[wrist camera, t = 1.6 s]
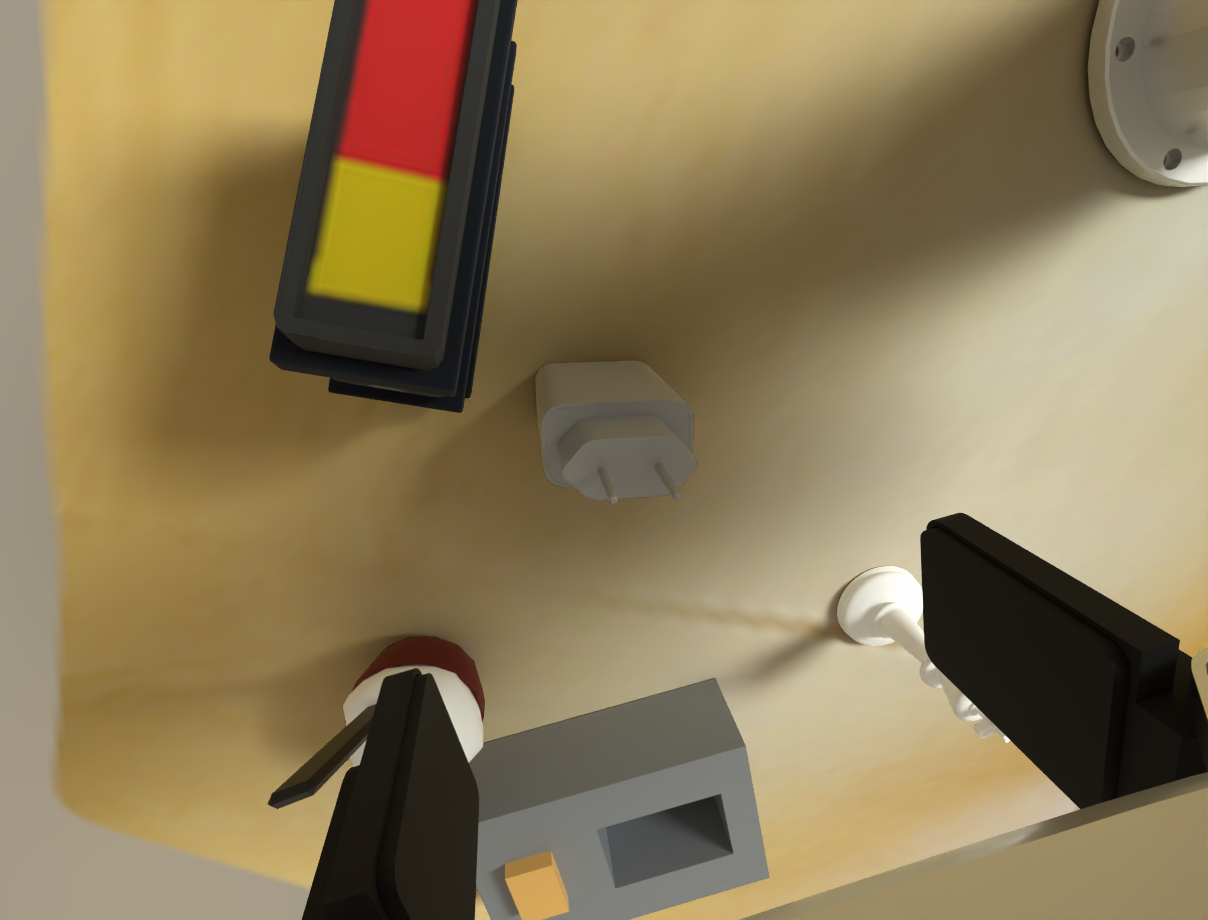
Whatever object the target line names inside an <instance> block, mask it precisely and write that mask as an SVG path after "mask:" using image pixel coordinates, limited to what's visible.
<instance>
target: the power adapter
mask: <svg viewBox="0 0 1208 920" xmlns="http://www.w3.org/2000/svg"><path fill="white" fill-rule="evenodd" d="M535 389H536V408H537V420H538V428H539V436H540V444H541V452H542V461H543V469H544V474H545V476H546V478H547V479H548V480H549V482H550V483H552V484H553V485H555V486H558V487H563V488H571V487H575V488H576V489H577V490H578V491H579V492H580V493H581V494H582V495H583V496H584V497H586V498H588V499H592V500H609V502H610V503H611V504H616V503H617V502H618V499H625V498H640V497H655V496H664V495H669V494H671V495H672V497H673V498H674V499H675V500H678V499H680V498H681V497H682V494H681V492H680V491H679V488H680V487H681V486H682V484H683V483H684V482H685V481H686V480H687V479H688V478H689V477H690V476H691V474H692V473H693V472H694V471H695V470H696V468H697V464H698V462H697V460H696V458H695V457H694V456H693V455H692V452H693V428H694V415H693V412H692V410H691V408H690V407H689V405H688V404H687V403H686V402H685V401H684V400H683V399H682V398H681V397H680V396H679V395H678V394H677V393H676V392H675V391H674V390H673V389H672V388H671V387H670V386H669V385H668V384H667V383H666V382H665V381H664V380H663V379H662V378H661V377H659V376H658V375H657V374H656V373H655V372H654V371H653V370H652V369H651V368H650V367H649V366H648V365H647V364H646V363H645V362H642V361H639V360H625V361H599V362H573V363H551V364H547V365H544V366H542V367H541V368H540V369H539V370H538V372H537V374H536V377H535Z"/></svg>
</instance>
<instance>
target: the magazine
mask: <svg viewBox="0 0 1208 920" xmlns="http://www.w3.org/2000/svg"><path fill="white" fill-rule="evenodd" d="M516 6H517V0H335V2H334V7H333V12H332V17H331V22H330V27H329V32H328V38H327V43H326V48H325V53H324V58H323V63H322V68H321V73H320V79H319V84H318V89H317V94H316V99H315V104H314V109H313V114H312V120H311V125H310V130H309V135H308V140H307V145H306V150H305V155H304V161H303V166H302V171H301V176H300V181H299V186H298V191H297V196H296V201H295V207H294V212H293V217H292V222H291V227H290V232H289V237H288V242H287V248H286V253H285V258H284V263H283V268H282V273H281V278H280V283H279V289H278V294H277V299H276V304H275V309H274V317H275V321H276V326H275V331H274V337H273V342H272V347H271V352H270V357H269V358H270V361H271V362H273V363H274V364H275V365H276V366H278V367H279V368H280V369H282V370H288V371H294V372H300V373H306V374H313V375H319V376H325V377H330V381H329V388H328V390H329V392H331V393H337V394H343V395H349V396H356V397H362V398H369V399H375V400H381V401H388V402H394V403H400V404H407V405H413V406H420V407H426V408H432V409H439V410H445V411H451V412H458V413H461V412H462V411H463V407H464V400H465V398H470V395H471V392H472V385H473V378H474V371H475V364H476V357H477V350H478V343H479V336H480V329H481V322H482V315H483V307H484V300H485V293H486V286H487V279H488V272H489V265H490V258H491V251H492V244H493V237H494V230H495V223H496V216H497V209H498V201H499V194H500V187H501V180H502V173H503V166H504V159H505V152H506V145H507V138H508V131H509V124H510V117H511V110H512V103H513V96H514V86H513V85H512V84H511V83H512V77H513V70H514V63H515V56H516V46H517V45H516V43H515V42H514V41H511V38H512V32H513V25H514V19H515V13H516Z"/></svg>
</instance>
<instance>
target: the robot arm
mask: <svg viewBox="0 0 1208 920" xmlns="http://www.w3.org/2000/svg"><path fill="white" fill-rule="evenodd" d="M1088 80H1089V98H1090V102H1091V106H1092V110H1093V114H1094V119H1095V123H1096V126H1097V128H1098V130H1099V132H1100V134H1101V136H1102V138H1103V141H1104V143H1105V145H1106V147H1107V148H1108V149H1109V151H1110V152H1111V153H1112V154H1113V156H1114V157H1115V158H1116V159H1117V161H1118V162H1119V163H1120V164H1121V165H1122V166H1123V167H1125V168H1126V169H1127V170H1129V171H1130V172H1131V173H1133V174H1134V175H1136V176H1137V177H1138V178H1141V179H1143V180H1146V181H1149V182H1152V183H1154V184H1157V185H1163V186H1173V187H1188V186H1201V185H1208V0H1099V4H1098V8H1097V12H1096V17H1095V21H1094V25H1093V29H1092V33H1091V40H1090V50H1089V60H1088ZM920 542H921V568H922V595H923V621H924V645H925V650H926V653H927V655H928V657H929V659H930V661H931V662H932V663H933V665H934V666H935V667H936V668H937V669H938V670H939V671H940V672H941V673H942V674H943V675H944V676H945V677H946V678H947V679H948V680H950V681H951V682H952V683H953V684H954V685H955V686H956V687H957V688H958V689H959V690H960V691H961V692H962V693H963V694H964V695H965V696H966V697H967V698H968V699H969V700H970V701H971V702H972V703H973V704H974V705H975V706H976V707H977V708H978V709H979V710H980V711H981V712H982V713H983V714H984V715H985V716H986V717H987V718H988V719H989V720H990V721H991V722H992V723H993V724H994V725H995V726H996V727H997V728H998V729H999V730H1000V731H1001V732H1002V733H1003V734H1004V735H1005V736H1007V737H1008V738H1009V739H1010V740H1011V741H1012V742H1013V743H1014V744H1015V745H1016V746H1017V747H1018V748H1019V749H1020V750H1021V751H1022V752H1023V753H1024V754H1025V755H1026V756H1027V757H1028V758H1029V759H1030V760H1031V761H1032V762H1033V763H1034V764H1035V765H1036V766H1037V767H1038V768H1039V769H1040V770H1041V771H1042V772H1043V773H1044V774H1045V775H1046V776H1047V777H1048V778H1049V779H1050V780H1051V781H1052V782H1053V783H1054V784H1055V785H1056V786H1057V787H1058V788H1059V789H1060V790H1061V791H1062V792H1063V793H1065V794H1066V795H1067V796H1068V797H1069V798H1070V799H1071V800H1072V801H1073V802H1074V803H1075V804H1076V805H1077V806H1078V807H1079V808H1080V810H1077V811H1074V812H1071V813H1068V814H1065V815H1062V816H1058V817H1055V818H1052V819H1049V820H1046V821H1043V822H1040V823H1036V824H1033V825H1030V826H1027V827H1024V828H1021V829H1018V830H1015V831H1011V832H1008V833H1005V834H1002V835H999V836H996V837H993V838H989V839H986V840H983V841H980V842H977V843H974V844H971V845H967V846H964V847H961V848H958V849H955V850H952V851H949V852H946V853H942V854H939V855H936V856H933V857H930V858H927V859H924V860H921V861H918V862H915V863H912V864H909V865H906V866H902V867H899V868H896V869H893V870H890V871H887V872H884V873H881V874H878V875H875V876H872V877H869V878H865V879H862V880H859V881H856V882H853V883H850V884H847V885H844V886H841V887H838V888H835V889H832V890H829V891H826V892H823V893H820V894H816V895H813V896H810V897H807V898H804V899H801V900H798V901H795V902H792V903H789V904H786V905H783V906H780V907H777V908H774V909H771V910H767V911H764V912H761V913H758V914H755V915H752V916H749V917H746V918H743V919H740V920H1208V648H1206V649H1204V650H1201V651H1199V652H1197V654H1196V655H1195V656H1194V657H1193V658H1192V657H1190V656H1189V655H1187V654H1185V653H1184V652H1182V651H1180V650H1179V643H1180V640H1179V639H1177V638H1175V637H1174V636H1172V635H1170V634H1168V633H1167V632H1165V631H1163V630H1162V629H1160V628H1158V627H1157V626H1155V625H1153V624H1151V623H1150V622H1148V621H1146V620H1145V619H1143V618H1141V617H1140V616H1138V615H1136V614H1135V613H1133V612H1131V611H1129V610H1128V609H1126V608H1124V607H1123V606H1121V605H1119V604H1118V603H1116V602H1114V601H1112V600H1111V599H1109V598H1107V597H1106V596H1104V595H1102V594H1101V593H1099V592H1097V591H1095V590H1094V589H1092V588H1090V587H1089V586H1087V585H1085V584H1084V583H1082V582H1080V581H1078V580H1077V579H1075V578H1073V577H1072V576H1070V575H1068V574H1067V573H1065V572H1063V571H1062V570H1060V569H1058V568H1056V567H1055V566H1053V565H1051V564H1050V563H1048V562H1046V561H1045V560H1043V559H1041V558H1039V557H1038V556H1036V555H1034V554H1033V553H1031V552H1029V551H1028V550H1026V549H1024V548H1022V547H1021V546H1019V545H1017V544H1016V543H1014V542H1012V541H1011V540H1009V539H1007V538H1005V537H1004V536H1002V535H1000V534H999V533H997V532H995V531H994V530H992V529H990V528H989V527H987V526H985V525H983V524H982V523H980V522H978V521H977V520H975V519H973V518H972V517H970V516H968V515H966V514H964V513H956V514H953V515H949V516H946V517H942V518H939V519H935V520H932V521H930V522H929V523H928V525H927V529H926V531H923V532H922V534H921V538H920ZM478 824H479V792H478V787H477V783H476V780H475V777H474V775H473V772H472V770H471V767H470V765H469V763H468V760H467V758H466V755H465V753H464V750H463V748H462V745H461V743H460V740H459V738H458V736H457V733H456V731H455V728H454V726H453V723H452V721H451V718H450V716H449V714H448V711H447V709H446V706H445V704H444V701H443V699H442V696H441V694H440V691H439V689H438V687H437V684H436V682H435V679H434V677H433V675H432V674H431V673H427V674H423V675H422V673H421V671H420V670H419V669H418V668H414V669H411V670H407V671H404V672H400V673H397V674H393V675H390V676H386V677H385V678H384V679H383V682H382V685H381V689H380V692H379V696H378V700H377V703H376V707H375V711H374V714H373V718H372V722H371V725H370V729H369V733H368V736H367V740H366V744H365V747H364V751H363V755H362V758H361V762H360V765H358V766H355V767H351V768H350V769H349V770H348V771H347V772H346V774H345V777H344V779H343V782H342V785H341V789H340V792H339V795H338V799H337V802H336V806H335V809H334V812H333V816H332V819H331V822H330V826H329V829H328V833H327V836H326V839H325V843H324V846H323V850H322V853H321V856H320V860H319V863H318V866H317V870H316V873H315V877H314V880H313V883H312V887H311V890H310V893H309V897H308V900H307V904H306V907H305V911H304V914H303V917H302V920H475V898H476V873H477V849H478Z"/></svg>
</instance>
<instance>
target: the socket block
mask: <svg viewBox="0 0 1208 920" xmlns="http://www.w3.org/2000/svg"><path fill="white" fill-rule="evenodd" d="M469 765H470V767H471V770H472V772H473V775H474V777H475V780H476V783H477V787H478V792H479V824H478V849H477V873H476V887H477V889H478V892H479V894H480V896H481V898H482V901H483V903H484V905H485V907H486V909H487V912H488V914H489V916H490V918H491V920H629V919H633V918H636V917H639V916H643V915H646V914H649V913H653V912H656V911H659V910H663V909H666V908H669V907H673V906H676V905H679V904H683V903H686V902H689V901H693V900H696V899H700V898H703V897H706V896H710V895H713V894H716V893H720V892H723V891H726V890H730V889H733V888H736V887H740V886H743V885H746V884H750V883H753V882H757V881H760V880H763V879H767V878H769V872H768V867H767V861H766V856H765V850H764V845H763V839H762V834H761V828H760V823H759V817H758V811H757V806H756V800H755V795H754V789H753V784H752V778H751V773H750V767H749V762H748V756H747V751H746V746H745V743H744V741H743V739H742V737H741V735H740V732H739V730H738V728H737V726H736V723H735V721H734V719H733V717H732V715H731V712H730V710H729V708H728V706H727V703H726V701H725V699H724V697H723V695H722V692H721V690H720V688H719V686H718V684H717V681H716V679H715V678H714V679H711V680H707V681H704V682H700V683H696V684H693V685H689V686H686V687H682V688H679V689H675V690H672V691H668V692H664V693H661V694H657V695H654V696H650V697H647V698H643V699H639V700H636V701H632V702H629V703H625V704H622V705H618V706H615V707H611V708H607V709H604V710H600V711H597V712H593V713H590V714H586V715H582V716H579V717H575V718H572V719H568V720H565V721H561V722H557V723H554V724H550V725H547V726H543V727H540V728H536V729H533V730H529V731H525V732H522V733H518V734H515V735H511V736H508V737H504V738H500V739H497V740H493V741H490V742H486V743H483V747H482V749H481V750H480V751H479V752H478V753H477V754H476V755H475V757H474V758H473V759H472V760H471V761H470V762H469Z"/></svg>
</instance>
